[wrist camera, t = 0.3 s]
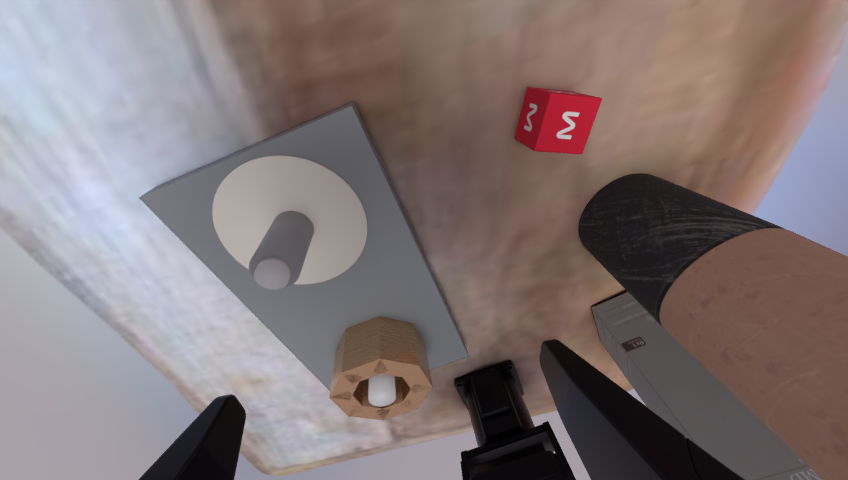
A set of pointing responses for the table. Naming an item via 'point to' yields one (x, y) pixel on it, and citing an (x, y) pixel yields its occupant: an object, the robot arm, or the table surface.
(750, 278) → the travel mug
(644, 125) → the table surface
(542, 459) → the robot arm
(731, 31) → the table surface
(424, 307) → the board
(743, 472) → the skincare box
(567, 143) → the red letter cube
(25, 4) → the table surface
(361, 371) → the wooden ring
